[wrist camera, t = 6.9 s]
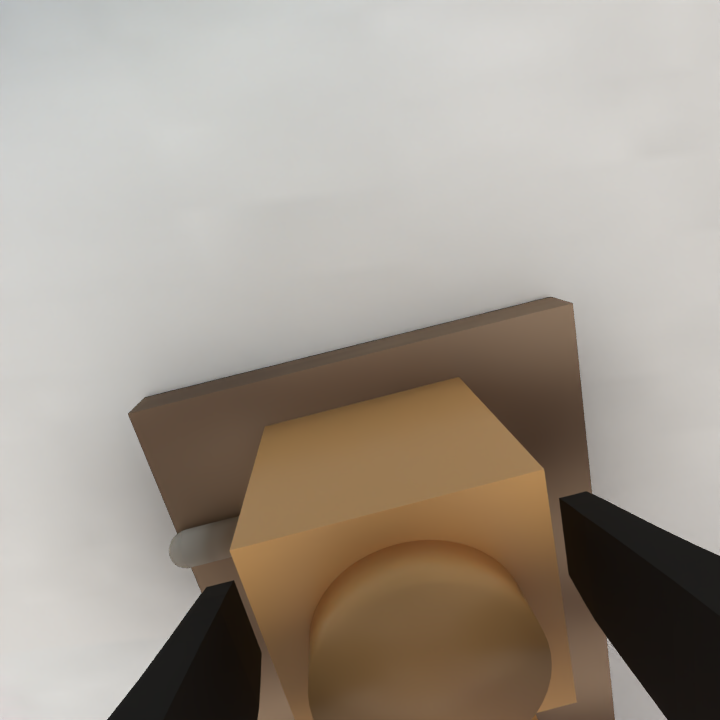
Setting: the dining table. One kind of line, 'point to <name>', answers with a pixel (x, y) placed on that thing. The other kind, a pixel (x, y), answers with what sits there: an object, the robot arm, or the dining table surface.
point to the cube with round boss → (405, 563)
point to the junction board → (365, 382)
